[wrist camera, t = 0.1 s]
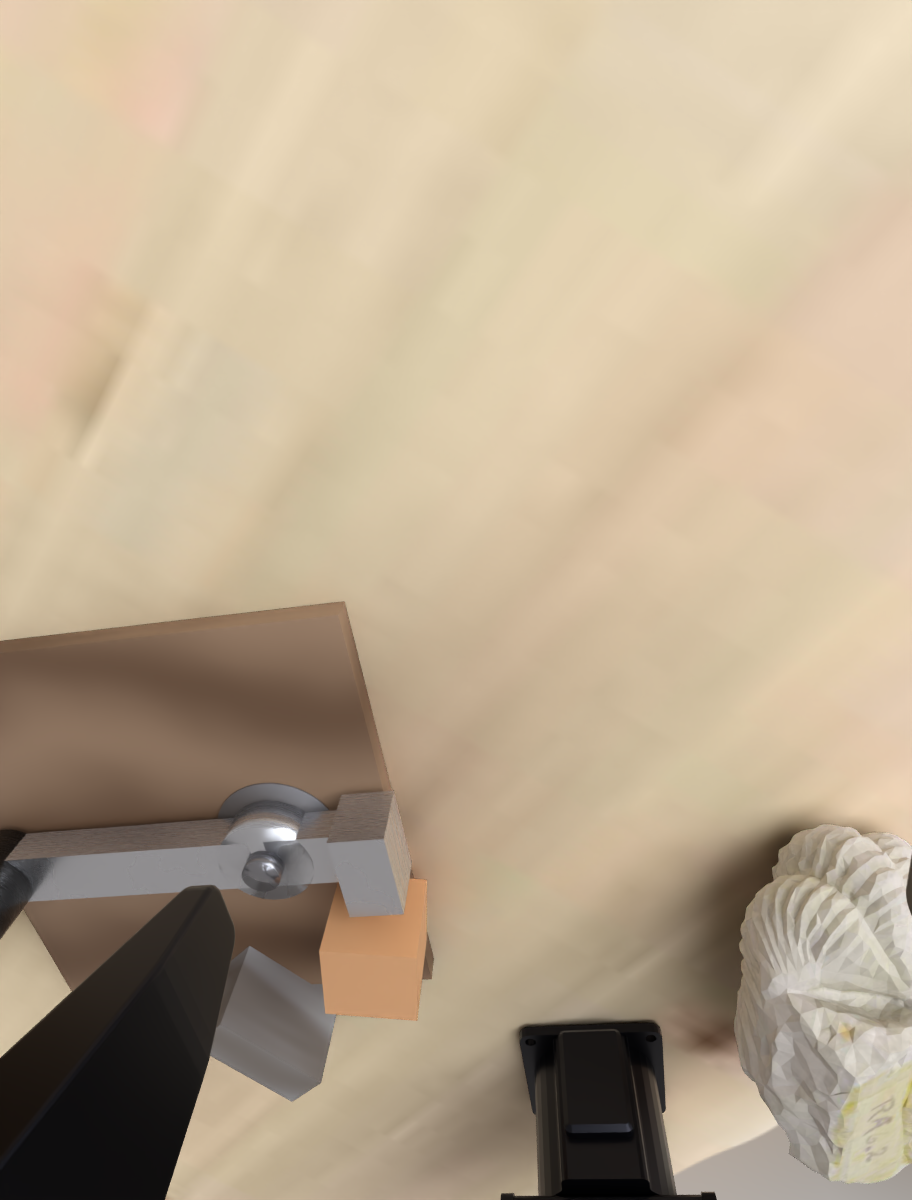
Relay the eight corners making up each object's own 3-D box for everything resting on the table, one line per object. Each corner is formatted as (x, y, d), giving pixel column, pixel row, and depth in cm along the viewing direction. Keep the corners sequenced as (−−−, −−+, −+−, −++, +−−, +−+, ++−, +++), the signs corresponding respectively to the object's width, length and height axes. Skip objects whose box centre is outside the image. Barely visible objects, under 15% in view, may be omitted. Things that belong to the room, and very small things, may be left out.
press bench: (442, 994, 33) (433, 1098, 29) (104, 1008, 35) (51, 1107, 31) (344, 601, 24) (311, 671, 20) (-99, 652, 26) (-208, 724, 22)
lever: (411, 862, 28) (387, 1017, 22) (5, 889, 30) (-110, 1035, 24) (393, 790, 26) (362, 937, 20) (-33, 824, 28) (-165, 964, 23)
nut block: (426, 939, 30) (417, 1020, 27) (344, 934, 30) (325, 1013, 27) (426, 879, 28) (416, 958, 25) (339, 874, 28) (319, 950, 25)
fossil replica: (902, 749, 26) (648, 838, 29) (1026, 946, 18) (665, 1031, 22) (1017, 969, 29) (775, 1024, 32) (1163, 1213, 21) (827, 1248, 25)
